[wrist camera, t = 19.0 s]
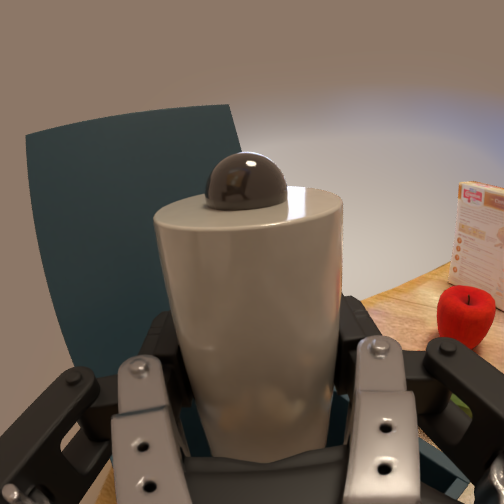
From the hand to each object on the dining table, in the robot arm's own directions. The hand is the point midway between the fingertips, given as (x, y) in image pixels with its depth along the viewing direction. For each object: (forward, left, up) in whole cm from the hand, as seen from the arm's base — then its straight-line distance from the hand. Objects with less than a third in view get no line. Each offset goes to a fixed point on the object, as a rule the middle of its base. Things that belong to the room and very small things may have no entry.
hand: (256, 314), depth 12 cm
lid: (-7, +4, +1) cm, 8 cm away
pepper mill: (+1, -3, -6) cm, 7 cm away
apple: (+20, +27, -21) cm, 39 cm away
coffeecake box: (+30, +43, -21) cm, 56 cm away
